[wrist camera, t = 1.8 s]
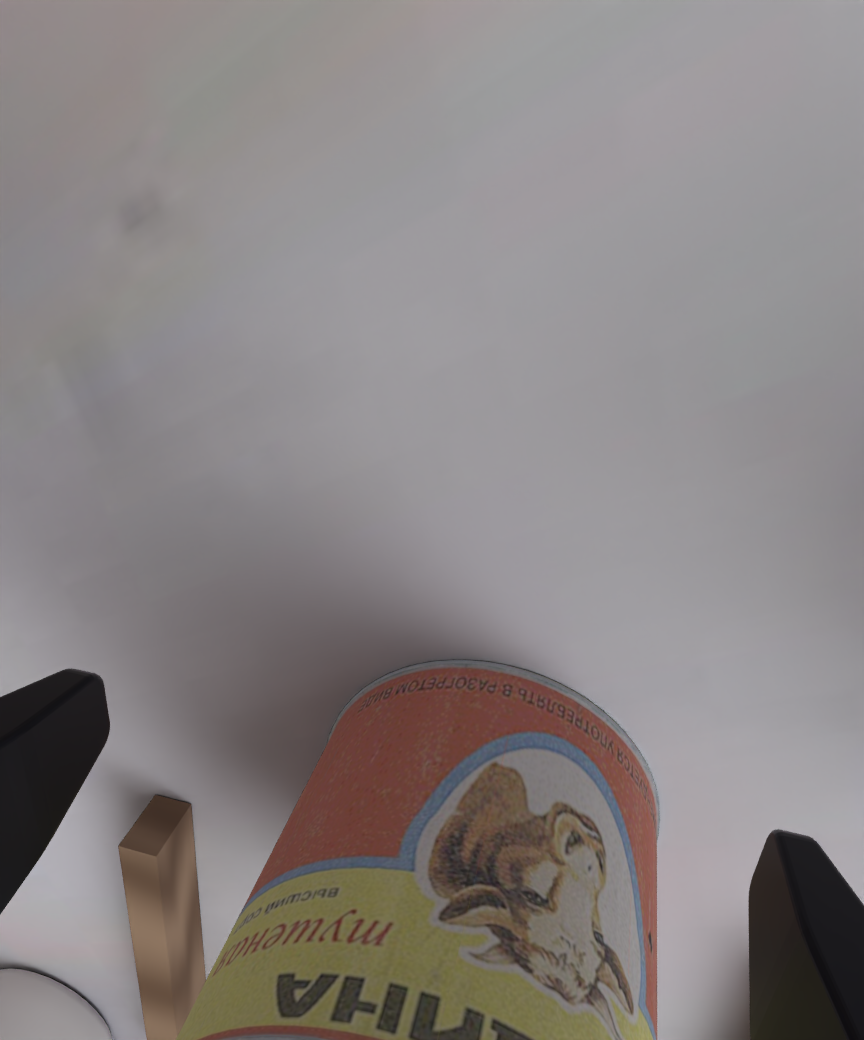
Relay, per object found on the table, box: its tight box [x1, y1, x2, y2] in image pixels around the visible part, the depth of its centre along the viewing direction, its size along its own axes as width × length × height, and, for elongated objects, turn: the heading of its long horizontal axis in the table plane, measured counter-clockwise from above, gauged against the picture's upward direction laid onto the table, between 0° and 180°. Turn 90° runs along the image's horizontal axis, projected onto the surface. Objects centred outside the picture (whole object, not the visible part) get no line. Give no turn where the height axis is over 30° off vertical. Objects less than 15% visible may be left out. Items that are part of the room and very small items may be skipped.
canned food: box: [176, 660, 660, 1040], centre depth 22 cm, size 11×11×12 cm
